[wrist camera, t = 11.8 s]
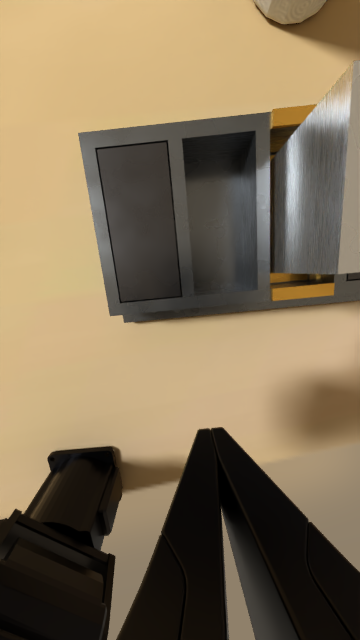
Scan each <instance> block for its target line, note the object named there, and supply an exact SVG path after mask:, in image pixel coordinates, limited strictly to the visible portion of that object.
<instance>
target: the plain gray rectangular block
mask: <svg viewBox="0 0 360 640" xmlns="http://www.w3.org/2000/svg"><path fill="white" fill-rule="evenodd" d="M356 272H360V60H358V61H353V62H352V64H351V65H350V66H349V67H348V68H347V70H346V71H345V72H344V73H343V74H342V76H341V77H340V78H339V79H338V80H337V82H336V83H335V84H334V85H333V86H332V88H331V89H330V90H329V91H328V92H327V94H326V95H325V96H324V97H323V98H322V100H321V101H320V102H319V103H318V104H317V106H316V107H315V108H314V109H313V111H312V112H311V113H310V114H309V115H308V117H307V118H306V119H305V120H304V121H303V123H302V124H301V125H300V126H299V127H298V129H297V130H296V131H295V132H294V133H293V135H292V136H291V137H290V138H289V139H288V141H287V142H286V143H285V144H284V145H283V147H282V148H281V149H280V150H279V151H278V153H277V154H276V155H275V156H274V157H273V159H272V160H271V161H270V273H294V274H345V273H356Z"/></svg>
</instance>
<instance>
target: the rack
mask: <svg viewBox="0 0 360 640" xmlns="http://www.w3.org/2000/svg"><path fill="white" fill-rule="evenodd" d="M316 106H317V104H316V105H307V106H297V107H288V108H279V109H273V111H272V112H266V113H257V114H247V115H238V116H229V117H220V118H211V119H202V120H193V121H183V122H174V123H165V124H156V125H147V126H138V127H129V128H119V129H110V130H101V131H92V132H83V133H78V135H79V141H80V147H81V152H82V158H83V164H84V169H85V175H86V181H87V187H88V192H89V198H90V204H91V210H92V215H93V221H94V227H95V232H96V238H97V244H98V250H99V255H100V261H101V267H102V273H103V278H104V284H105V290H106V295H107V301H108V307H109V313H110V316H116V315H123V319H124V323H126V322H137V321H147V320H158V319H168V318H179V317H189V316H200V315H210V314H221V313H231V312H242V311H252V310H263V309H273V308H284V307H294V306H305V305H315V304H326V303H336V302H347V301H357V300H360V272H356V273H345V274H294V273H270V161H271V160H272V159H273V157H274V156H275V155H276V154H277V153H278V151H279V150H280V149H281V148H282V147H283V145H284V144H285V143H286V142H287V141H288V139H289V138H290V137H291V136H292V135H293V133H294V132H295V131H296V130H297V129H298V127H299V126H300V125H301V124H302V123H303V121H304V120H305V119H306V118H307V117H308V115H309V114H310V113H311V112H312V111H313V109H314V108H315V107H316Z"/></svg>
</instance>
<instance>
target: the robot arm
mask: <svg viewBox="0 0 360 640" xmlns="http://www.w3.org/2000/svg"><path fill="white" fill-rule="evenodd" d="M48 463H49V466H50V470H51V472H50V474H49V475H48V477H47V478H46V480H45V481H44V483H43V485H42V486H41V488H40V489H39V491H38V492H37V494H36V495H35V497H34V499H33V500H32V502H31V503H30V505H29V506H28V508H27V510H26V511H25V513H24V514H22V511H20V510H18V509H15V510H14V512H13V513H12V515H11V516H10V517H9V519H7V518H5V519H3V520H0V640H107V636H108V629H109V621H110V610H111V599H112V587H113V576H114V565H115V556H114V555H112V554H110V553H109V554H106V553H104V552H102V551H100V550H101V546H102V543H103V539H104V536H108V535H109V534H110V533H111V531H112V527H113V523H114V519H115V515H116V512H117V508H118V504H119V501H120V500H121V497H122V488H123V486H122V481H121V476H120V471H119V468H118V467H117V466H116V461H115V456H114V451H113V449H112V448H110V447H104V448H93V449H81V450H70V451H58V452H52V453H51V454H50V455H49V456H48ZM221 509H222V513H223V517H224V521H225V525H226V529H227V533H228V536H229V540H230V544H231V548H232V552H233V556H234V559H235V563H236V567H237V571H238V574H239V578H240V582H241V586H242V590H243V593H244V597H245V601H246V605H247V608H248V613H249V616H250V620H251V624H252V628H253V632H254V635H255V639H256V640H360V572H359V571H358V570H357V569H356V568H355V567H354V566H353V565H352V564H351V563H350V562H349V561H348V560H347V559H346V558H345V557H344V556H343V555H342V554H341V553H340V552H339V551H338V550H337V549H336V548H335V547H334V546H333V545H332V544H331V543H330V541H329V540H327V538H326V537H325V536H324V535H323V534H322V533H321V532H320V531H319V530H318V529H317V528H316V527H315V525H313V523H312V522H309V523H308V518H307V517H306V516H305V515H304V514H303V513H302V512H301V511H300V510H299V509H298V507H297V506H296V505H295V504H294V503H293V502H292V501H291V500H290V499H289V498H288V497H287V496H286V495H285V494H284V493H283V492H282V490H281V489H280V488H279V487H278V486H277V485H276V484H275V483H274V482H273V481H272V480H271V479H270V477H269V476H268V475H267V474H265V472H264V471H263V470H262V469H261V468H260V467H259V466H258V465H257V464H256V462H255V461H254V460H253V459H252V458H251V457H250V456H249V455H248V454H247V453H246V452H245V451H244V450H243V449H242V448H241V446H240V445H239V444H238V443H237V442H236V441H235V440H234V439H233V438H232V437H231V436H230V435H229V434H228V433H227V431H226V430H225V429H224V428H222V427H217V428H211V430H210V429H209V428H206V429H199V430H198V431H197V434H196V437H195V439H194V442H193V445H192V448H191V451H190V453H189V456H188V459H187V462H186V464H185V467H184V470H183V473H182V476H181V478H180V481H179V484H178V487H177V490H176V492H175V495H174V498H173V501H172V503H171V506H170V509H169V512H168V514H167V517H166V520H165V523H164V525H163V528H162V531H161V534H162V535H160V536H159V539H158V542H157V544H156V547H155V550H154V553H153V555H152V558H151V561H150V563H149V566H148V568H147V571H146V573H145V576H144V578H143V581H142V583H141V586H140V588H139V591H138V593H137V595H136V597H135V600H134V602H133V604H132V606H131V608H130V611H129V613H128V615H127V617H126V620H125V622H124V624H123V626H122V628H121V631H120V633H119V635H118V637H117V639H116V640H229V631H228V614H227V597H226V581H225V565H224V548H223V532H222V516H221Z"/></svg>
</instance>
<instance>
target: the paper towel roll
mask: <svg viewBox="0 0 360 640" xmlns="http://www.w3.org/2000/svg"><path fill="white" fill-rule="evenodd" d="M326 1H327V0H254V2H255V4H256V5H257V6H258V7H259V9H260V10H261V11H262V12H263V13H264V15H265V16H266V17H268V18H270V19H272V20H274V21H276V22H279V23H281V24H291V23H300V22H302V21H304V20H305V19H307V18H309V17H310V16H312V15H314V14H315V13H317V12H318V11H319V10H320V8H321V7H322V6H323V4H324V3H325V2H326Z"/></svg>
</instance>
